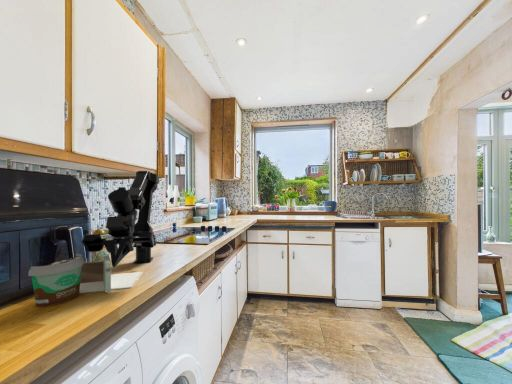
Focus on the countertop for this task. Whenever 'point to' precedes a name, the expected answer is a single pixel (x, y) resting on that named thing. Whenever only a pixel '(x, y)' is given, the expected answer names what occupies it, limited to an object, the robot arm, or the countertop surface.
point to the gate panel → (107, 273)
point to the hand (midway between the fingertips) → (113, 266)
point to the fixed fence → (92, 272)
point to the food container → (57, 281)
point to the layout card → (112, 282)
